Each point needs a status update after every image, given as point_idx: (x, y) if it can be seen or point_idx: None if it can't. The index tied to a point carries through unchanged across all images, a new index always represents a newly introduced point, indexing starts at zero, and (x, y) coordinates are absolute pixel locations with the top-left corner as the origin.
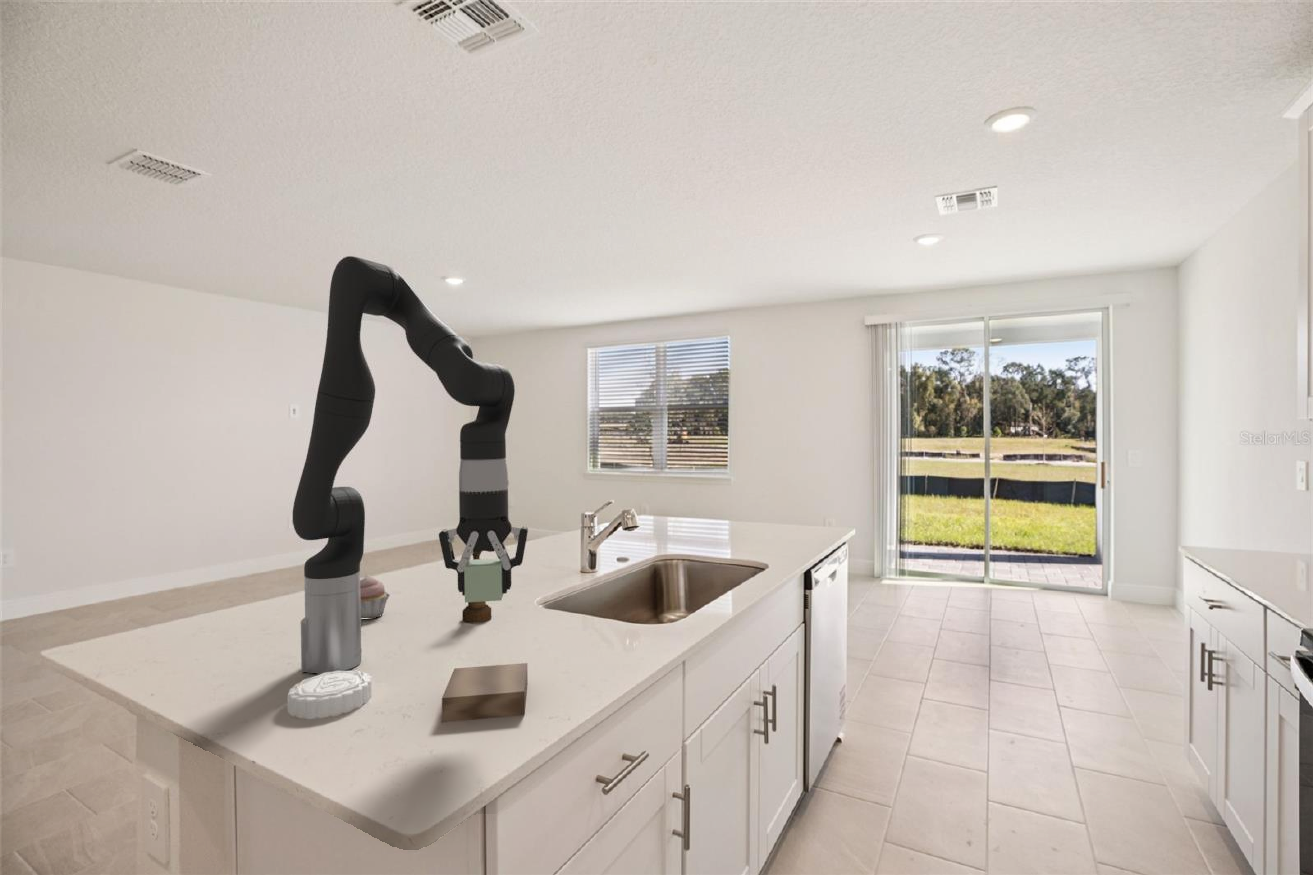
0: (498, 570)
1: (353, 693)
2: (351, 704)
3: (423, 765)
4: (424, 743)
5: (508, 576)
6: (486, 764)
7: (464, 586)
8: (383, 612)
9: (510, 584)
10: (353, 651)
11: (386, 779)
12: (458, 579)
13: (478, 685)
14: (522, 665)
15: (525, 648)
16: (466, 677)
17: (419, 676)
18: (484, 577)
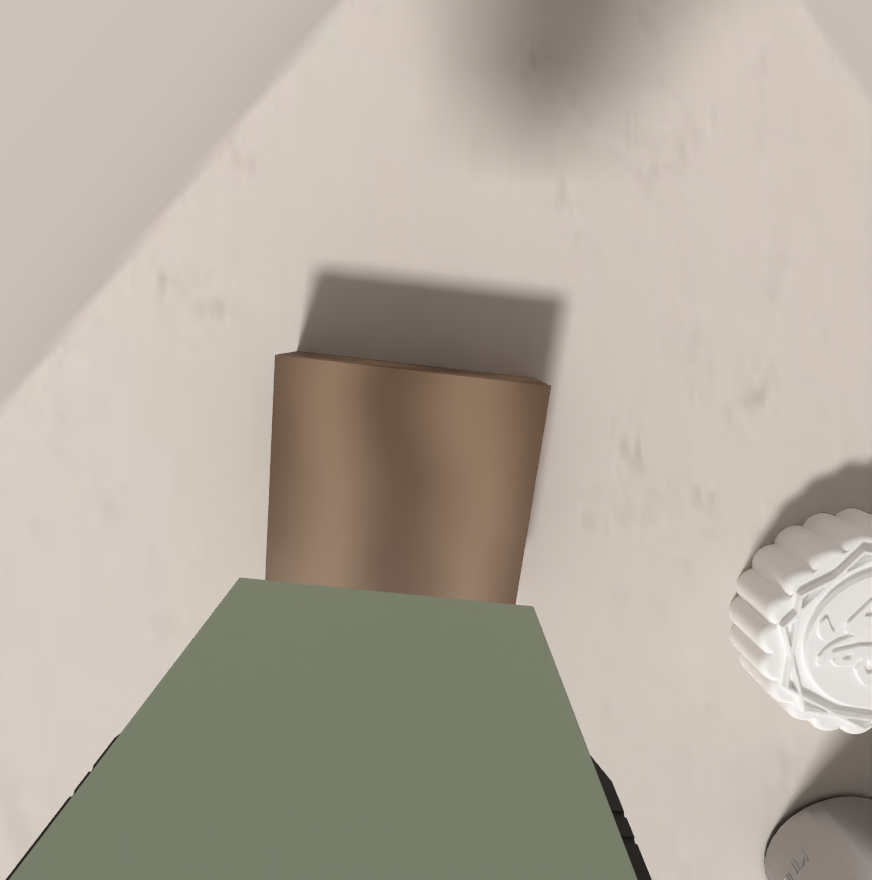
0: (94, 826)
1: (805, 563)
2: (791, 540)
3: (581, 112)
4: (581, 254)
5: None
6: (409, 55)
7: None
8: None
9: (106, 751)
10: (819, 872)
11: (676, 61)
12: (643, 875)
13: (431, 457)
14: None
15: None
16: (471, 539)
17: (601, 715)
18: (341, 754)
